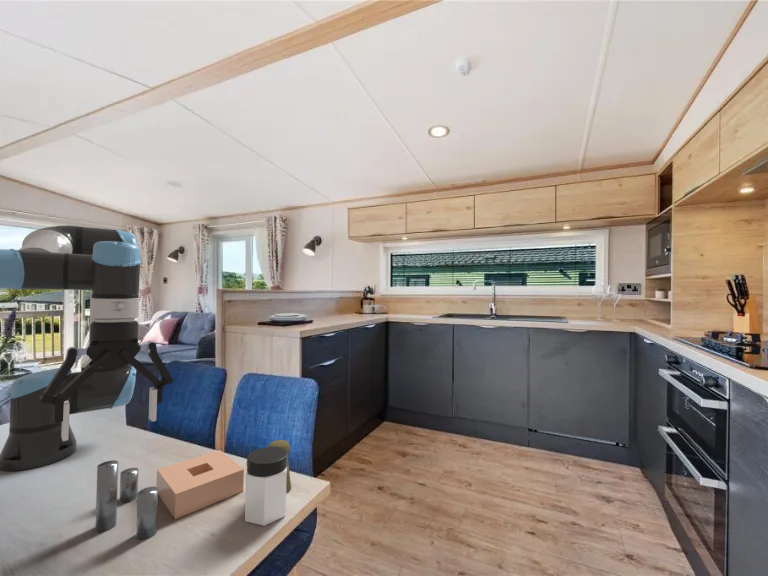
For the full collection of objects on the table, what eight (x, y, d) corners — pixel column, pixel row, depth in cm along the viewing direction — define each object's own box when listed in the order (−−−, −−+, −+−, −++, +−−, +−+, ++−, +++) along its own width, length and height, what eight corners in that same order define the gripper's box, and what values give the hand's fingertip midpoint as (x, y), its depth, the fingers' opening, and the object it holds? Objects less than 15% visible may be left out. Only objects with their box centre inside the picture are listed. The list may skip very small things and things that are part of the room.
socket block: (156, 491, 79) (156, 469, 79) (219, 469, 89) (219, 449, 89) (174, 519, 69) (175, 494, 69) (243, 491, 79) (243, 469, 79)
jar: (277, 495, 78) (278, 442, 78) (295, 512, 72) (296, 454, 72) (237, 512, 72) (238, 454, 72) (253, 532, 66) (254, 469, 66)
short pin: (118, 498, 76) (119, 471, 76) (135, 492, 78) (136, 466, 78) (121, 504, 74) (122, 476, 74) (139, 498, 76) (139, 471, 76)
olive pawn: (283, 498, 77) (284, 449, 77) (259, 495, 78) (260, 446, 78) (295, 484, 83) (296, 438, 83) (272, 481, 84) (273, 435, 84)
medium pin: (134, 534, 65) (135, 491, 65) (154, 525, 67) (155, 484, 67) (138, 542, 63) (139, 498, 63) (158, 533, 65) (160, 491, 65)
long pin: (94, 526, 67) (96, 464, 67) (114, 518, 69) (116, 458, 69) (96, 534, 64) (98, 470, 65) (117, 526, 67) (119, 464, 67)
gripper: (24, 324, 56) (19, 455, 56) (190, 318, 74) (188, 417, 74) (23, 322, 61) (19, 441, 61) (179, 317, 80) (176, 409, 79)
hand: (111, 428), depth 67 cm, fingers open, 13 cm apart
